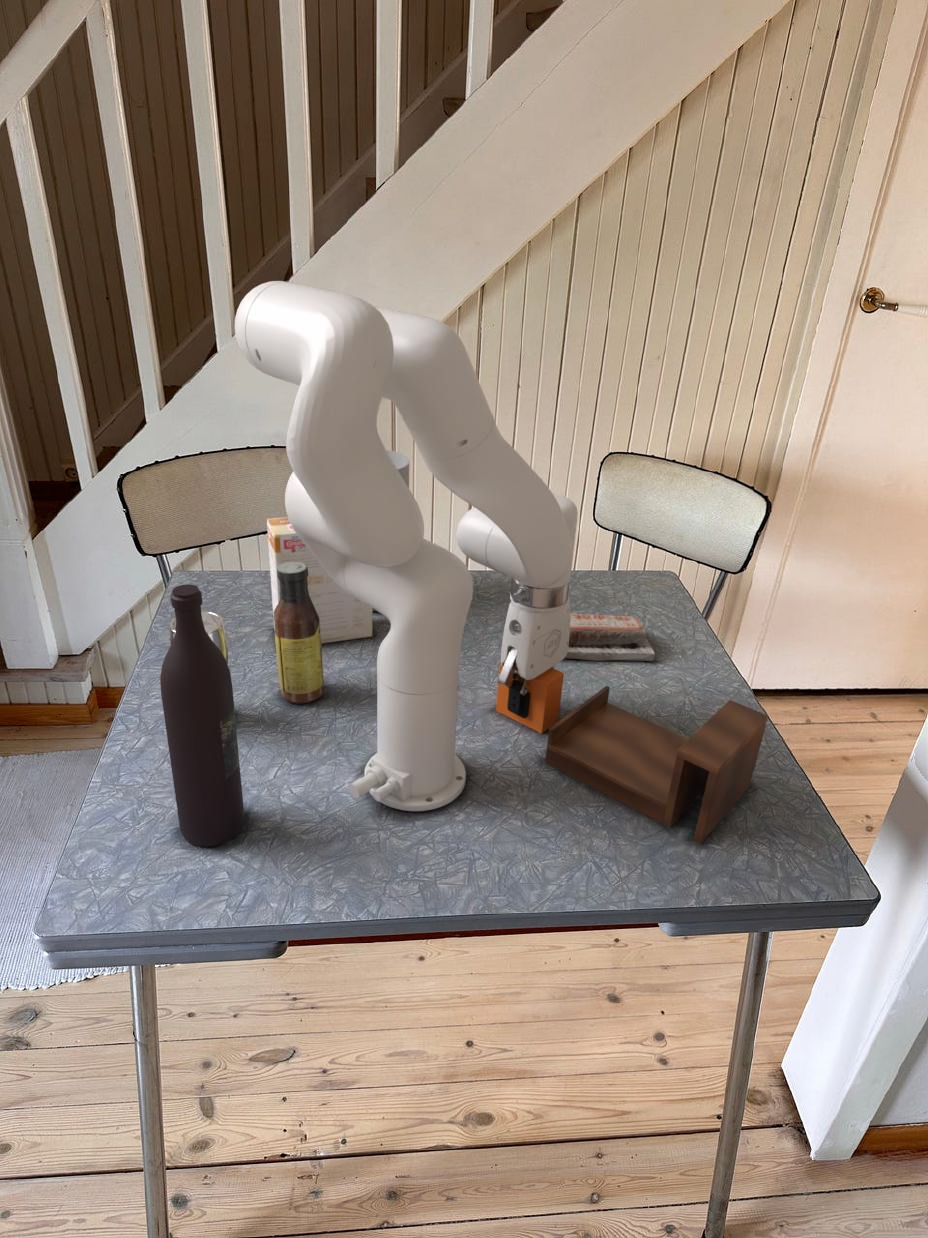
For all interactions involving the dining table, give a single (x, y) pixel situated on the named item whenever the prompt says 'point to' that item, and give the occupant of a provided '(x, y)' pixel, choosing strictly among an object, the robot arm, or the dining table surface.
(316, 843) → the dining table surface
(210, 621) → the beer glass
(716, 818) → the shelf
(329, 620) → the coffeecake box
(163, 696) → the wine bottle
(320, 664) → the sauce bottle
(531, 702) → the block
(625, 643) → the packaged product
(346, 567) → the robot arm
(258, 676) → the dining table surface
